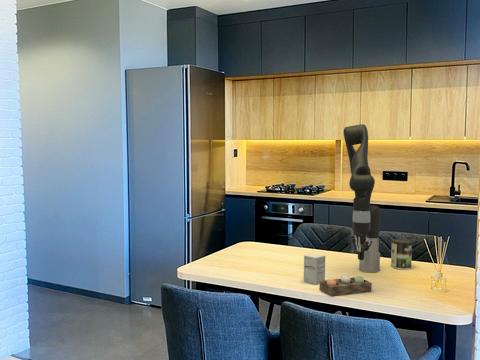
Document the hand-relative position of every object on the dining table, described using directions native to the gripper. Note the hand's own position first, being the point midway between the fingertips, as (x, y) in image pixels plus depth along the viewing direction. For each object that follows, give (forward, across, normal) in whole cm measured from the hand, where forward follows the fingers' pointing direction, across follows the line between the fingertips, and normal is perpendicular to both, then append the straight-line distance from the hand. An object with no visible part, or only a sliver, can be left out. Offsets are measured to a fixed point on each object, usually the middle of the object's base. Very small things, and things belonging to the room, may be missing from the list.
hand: (360, 259), depth 210 cm
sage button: (+11, 0, +1) cm, 11 cm away
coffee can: (+14, +26, -43) cm, 52 cm away
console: (+13, 0, +8) cm, 15 cm away
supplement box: (+14, +17, +13) cm, 26 cm away
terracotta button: (+11, 0, +15) cm, 18 cm away
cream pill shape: (+10, 0, +8) cm, 12 cm away
